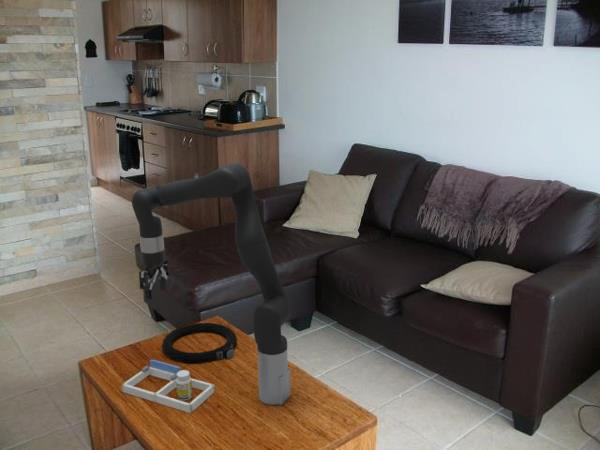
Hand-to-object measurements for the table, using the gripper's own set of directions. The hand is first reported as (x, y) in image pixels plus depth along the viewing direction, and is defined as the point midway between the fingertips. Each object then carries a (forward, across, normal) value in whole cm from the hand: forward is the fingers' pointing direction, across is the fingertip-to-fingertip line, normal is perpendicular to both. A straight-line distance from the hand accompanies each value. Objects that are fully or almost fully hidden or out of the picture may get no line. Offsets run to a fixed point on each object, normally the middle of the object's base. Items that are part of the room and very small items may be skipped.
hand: (156, 294), depth 194 cm
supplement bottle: (+28, -13, -16) cm, 35 cm away
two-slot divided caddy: (+28, -12, -9) cm, 32 cm away
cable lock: (+28, +19, -5) cm, 34 cm away
